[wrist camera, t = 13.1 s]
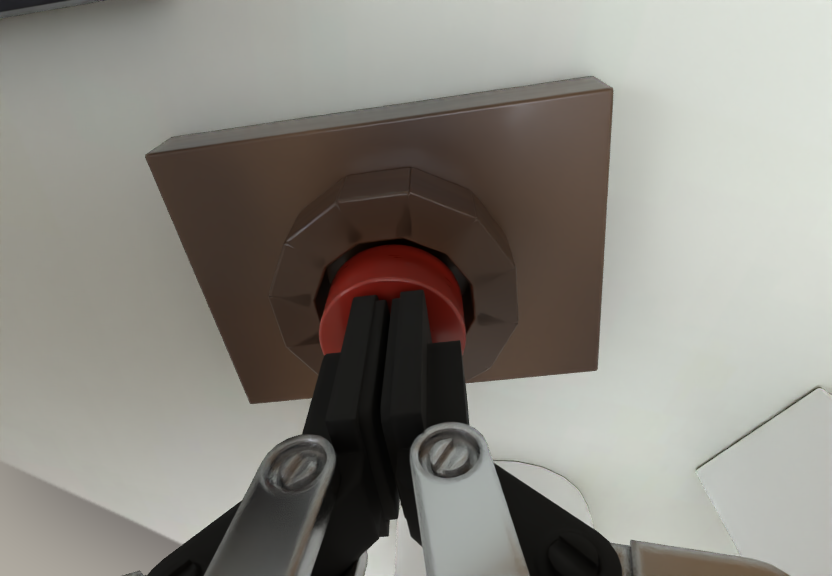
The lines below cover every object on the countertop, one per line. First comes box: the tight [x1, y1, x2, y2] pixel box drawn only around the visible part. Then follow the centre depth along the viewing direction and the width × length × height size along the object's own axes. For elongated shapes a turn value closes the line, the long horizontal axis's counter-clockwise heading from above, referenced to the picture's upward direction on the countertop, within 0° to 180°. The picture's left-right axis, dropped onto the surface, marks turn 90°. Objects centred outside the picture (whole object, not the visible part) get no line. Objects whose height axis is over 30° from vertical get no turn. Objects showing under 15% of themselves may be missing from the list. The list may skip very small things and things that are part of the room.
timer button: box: [319, 244, 466, 355], centre depth 13 cm, size 4×4×2 cm
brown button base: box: [145, 76, 613, 404], centre depth 15 cm, size 12×9×4 cm
